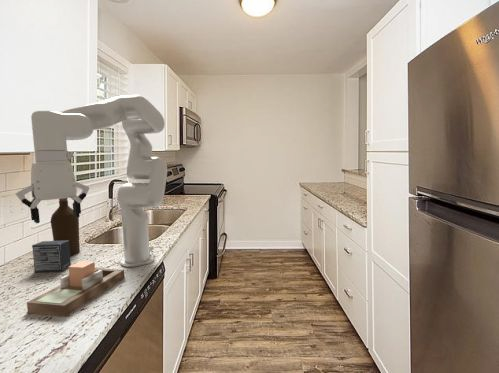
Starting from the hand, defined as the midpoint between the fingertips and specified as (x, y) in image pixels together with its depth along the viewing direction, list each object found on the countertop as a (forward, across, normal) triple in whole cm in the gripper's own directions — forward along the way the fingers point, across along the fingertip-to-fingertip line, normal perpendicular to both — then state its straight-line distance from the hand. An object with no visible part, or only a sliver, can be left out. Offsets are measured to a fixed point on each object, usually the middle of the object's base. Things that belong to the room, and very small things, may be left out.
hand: (57, 219), depth 86 cm
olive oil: (+25, -15, -54) cm, 62 cm away
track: (+25, -6, -4) cm, 26 cm away
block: (+22, -6, -5) cm, 23 cm away
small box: (+25, -5, -36) cm, 44 cm away
